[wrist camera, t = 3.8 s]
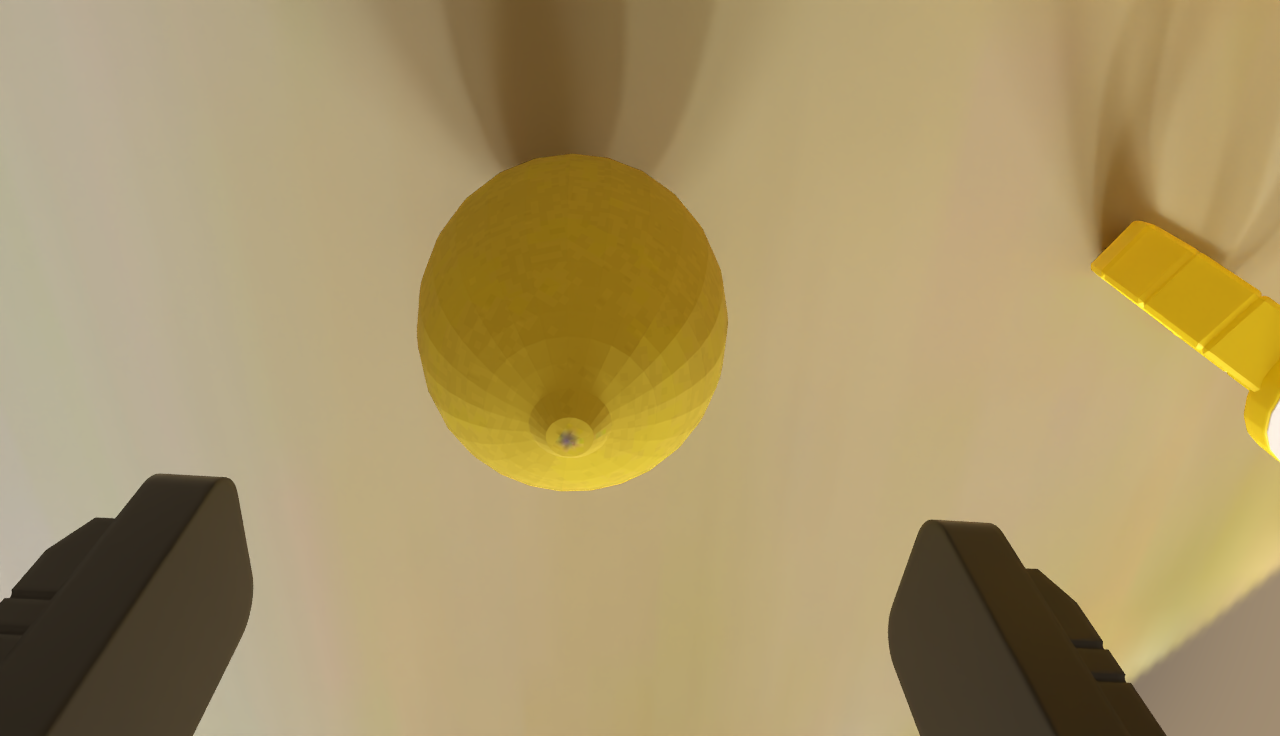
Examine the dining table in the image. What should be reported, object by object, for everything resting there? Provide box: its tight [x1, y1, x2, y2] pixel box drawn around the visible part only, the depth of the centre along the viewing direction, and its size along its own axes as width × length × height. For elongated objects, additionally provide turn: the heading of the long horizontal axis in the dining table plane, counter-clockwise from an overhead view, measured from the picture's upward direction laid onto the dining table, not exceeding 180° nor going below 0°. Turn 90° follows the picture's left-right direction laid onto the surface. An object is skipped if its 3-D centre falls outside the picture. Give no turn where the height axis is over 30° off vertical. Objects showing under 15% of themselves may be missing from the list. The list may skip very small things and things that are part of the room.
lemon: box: [417, 154, 728, 491], centre depth 15 cm, size 6×6×8 cm
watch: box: [1091, 221, 1280, 462], centre depth 17 cm, size 6×3×6 cm, turn 56°
